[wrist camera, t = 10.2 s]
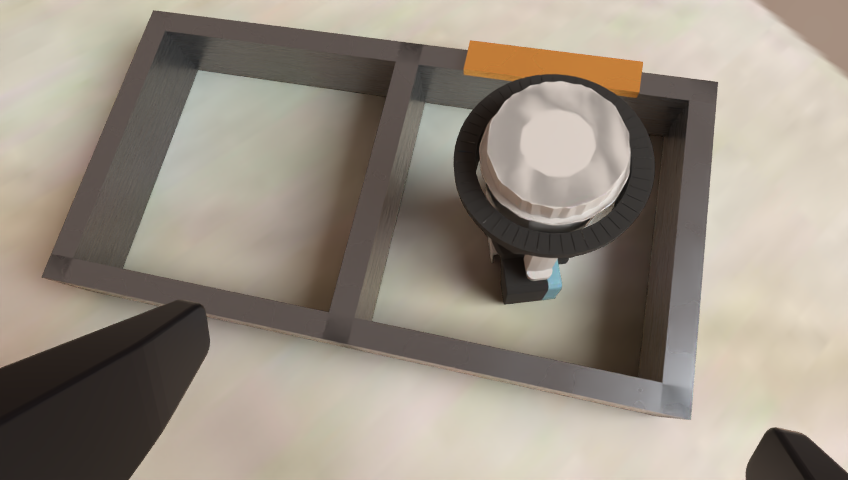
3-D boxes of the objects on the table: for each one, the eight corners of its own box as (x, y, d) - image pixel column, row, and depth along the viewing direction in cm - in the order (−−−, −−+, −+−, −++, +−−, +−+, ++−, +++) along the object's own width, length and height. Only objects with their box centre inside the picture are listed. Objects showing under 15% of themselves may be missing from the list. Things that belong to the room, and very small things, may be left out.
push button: (451, 173, 24) (435, 26, 15) (569, 157, 24) (630, -3, 14) (470, 317, 22) (465, 256, 13) (598, 302, 22) (692, 228, 12)
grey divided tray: (660, 417, 20) (695, 420, 17) (92, 291, 24) (33, 275, 21) (689, 116, 24) (722, 71, 21) (188, 47, 28) (149, 0, 24)
